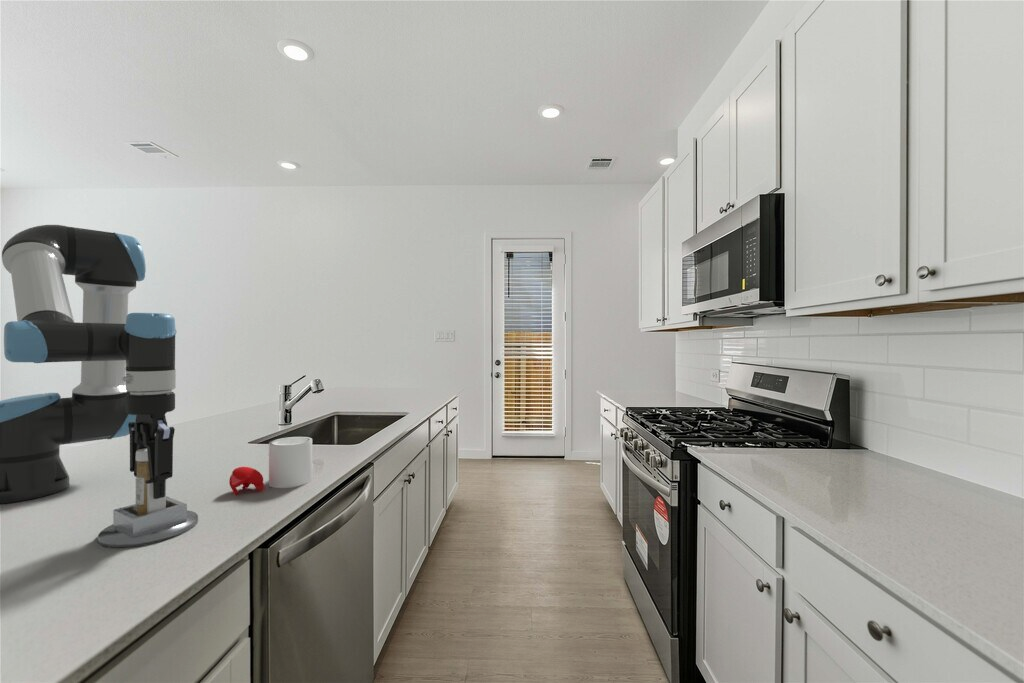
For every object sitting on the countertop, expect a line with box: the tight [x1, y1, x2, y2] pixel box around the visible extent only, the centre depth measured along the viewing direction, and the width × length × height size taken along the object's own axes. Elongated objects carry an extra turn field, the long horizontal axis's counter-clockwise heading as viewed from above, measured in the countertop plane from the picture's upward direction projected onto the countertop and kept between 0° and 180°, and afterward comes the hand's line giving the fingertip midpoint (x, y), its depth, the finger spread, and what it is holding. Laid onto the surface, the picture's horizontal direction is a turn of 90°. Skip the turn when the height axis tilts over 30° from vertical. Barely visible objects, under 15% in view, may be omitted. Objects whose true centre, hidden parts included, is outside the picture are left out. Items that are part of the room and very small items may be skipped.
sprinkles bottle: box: [135, 448, 150, 516], centre depth 86 cm, size 5×5×13 cm
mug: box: [268, 436, 313, 489], centre depth 117 cm, size 14×10×11 cm
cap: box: [228, 466, 265, 496], centre depth 108 cm, size 8×6×6 cm
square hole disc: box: [97, 495, 199, 549], centre depth 86 cm, size 15×15×4 cm
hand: (150, 511), depth 86 cm, fingers closed on sprinkles bottle, 4 cm apart
